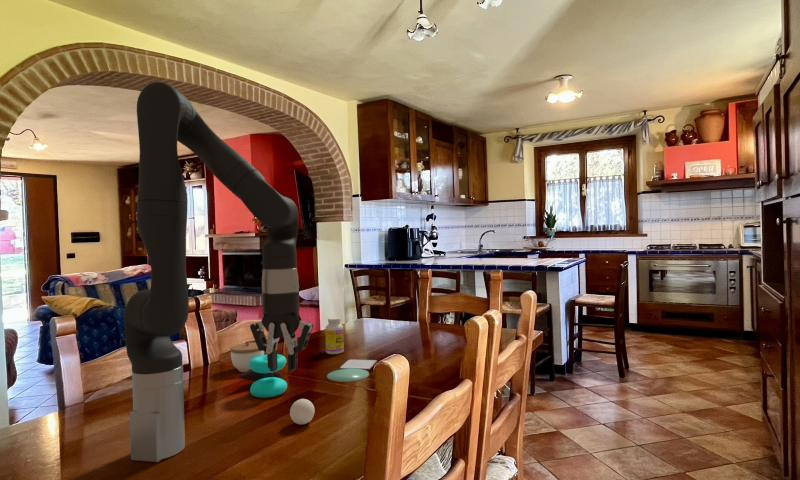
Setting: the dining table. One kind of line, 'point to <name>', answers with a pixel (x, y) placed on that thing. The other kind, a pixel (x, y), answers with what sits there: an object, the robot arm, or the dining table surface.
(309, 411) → the ball
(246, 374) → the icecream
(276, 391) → the donuts
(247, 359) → the lidded jar
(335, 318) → the supplement bottle
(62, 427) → the dining table surface
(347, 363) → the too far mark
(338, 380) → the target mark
